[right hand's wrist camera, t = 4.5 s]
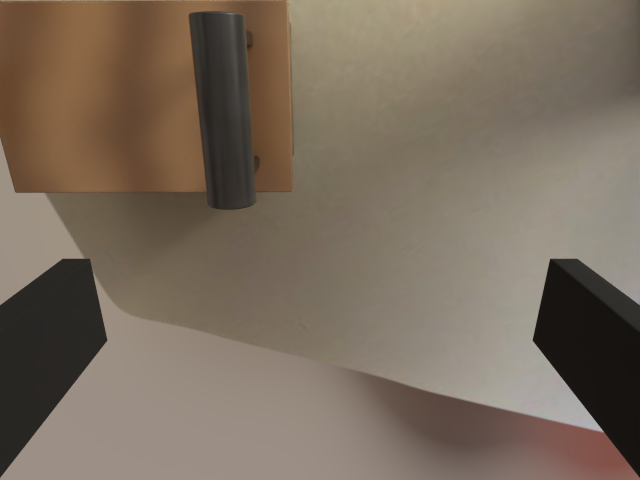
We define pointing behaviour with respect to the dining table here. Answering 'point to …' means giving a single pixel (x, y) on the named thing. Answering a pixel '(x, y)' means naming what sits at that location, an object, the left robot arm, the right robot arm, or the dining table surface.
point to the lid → (147, 97)
